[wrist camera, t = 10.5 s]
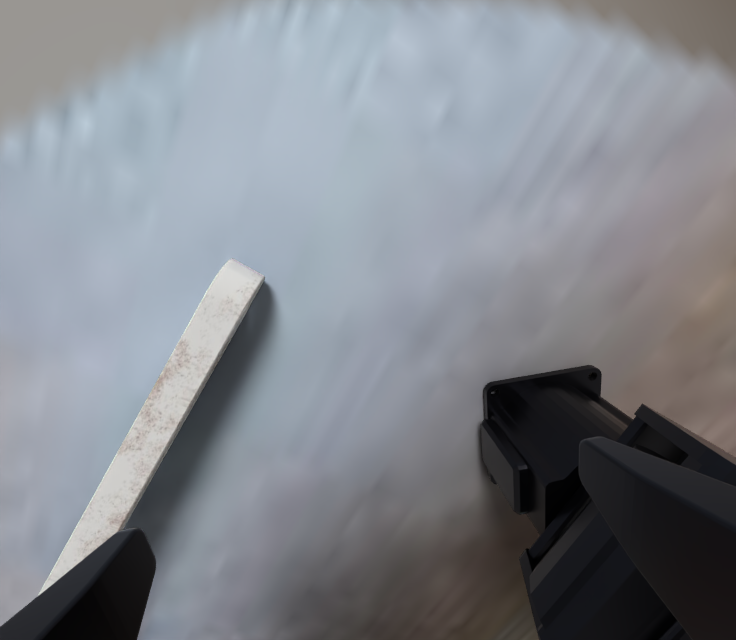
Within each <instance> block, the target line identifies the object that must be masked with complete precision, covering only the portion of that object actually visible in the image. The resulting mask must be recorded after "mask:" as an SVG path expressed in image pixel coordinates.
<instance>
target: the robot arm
mask: <svg viewBox="0 0 736 640" xmlns="http://www.w3.org/2000/svg"><path fill="white" fill-rule="evenodd" d="M590 373H592V375H591V376H590V377H588V376H589V374H590ZM494 389H497V391H496V393H494V394H491V392H492V391H493V390H494ZM600 394H601V371H600V370H599V369H598V368H596V367H594V366H592V365H587V366H581V367H575V368H569V369H564V370H558V371H552V372H546V373H540V374H535V375H529V376H523V377H517V378H511V379H506V380H500V381H494V382H490V383H488V384H487V385H486V386H485V388H484V408H485V420H483V422H482V423H481V435H482V453H483V461H484V463H485V464H486V466H487V468H488V476H489V478H490V480H491V481H492V482H493V483H494V484H498V486H499V488H500V489H501V491H502V493H503V494H504V496H505V498H506V499H507V501H508V503H509V504H510V506H511V507H512V509H513V511H515V512H516V513H517V514H519V515H521V514H527V515H528V517H529V519H530V520H531V522H532V523H533V525H534V526H535V528H536V529H537V531H538V533H539V534H540V537H539V538H538V539H537V540H536V542H535V543H534V544H533V545H532V547H531V548H530V549H526V550H525V551H524V552H523V554H522V555H521V556H520V557H519V560H520V564H521V568H522V572H523V576H524V580H525V584H526V588H527V592H528V596H529V600H530V604H531V608H532V613H533V617H534V621H535V625H536V629H537V633H538V637H539V640H736V458H735V457H734V456H732V455H730V454H729V453H727V452H726V451H724V450H722V449H721V448H719V447H717V446H716V445H714V444H712V443H710V442H709V441H707V440H705V439H703V438H702V437H700V436H698V435H696V434H695V433H693V432H691V431H689V430H688V429H686V428H684V427H682V426H681V425H679V424H677V423H675V422H674V421H672V420H670V419H668V418H667V417H665V416H663V415H661V414H660V413H658V412H656V411H654V410H653V409H651V408H649V407H647V406H646V405H644V404H642V405H641V406H640V407H639V409H638V410H637V411H636V412H635V415H636V417H635V418H634V419H632V418H630V417H629V416H627V415H626V414H624V413H623V412H622V411H620V410H619V409H617V408H616V407H614V406H613V405H612V404H610V403H609V402H607V401H606V400H604V399H603V398H602V397H600ZM155 570H156V560H155V556H154V554H153V551H152V549H151V546H150V544H149V542H148V539H147V537H146V535H145V532H144V531H143V530H142V529H141V528H131V529H126V530H121V531H118V532H116V533H115V534H114V535H112V536H111V537H110V538H109V539H107V540H106V541H105V542H104V543H103V544H101V545H100V546H99V547H98V548H96V549H95V550H94V551H93V552H92V553H90V554H89V555H88V556H87V557H85V558H84V559H83V560H82V561H81V562H79V563H78V564H77V565H76V566H74V567H73V568H72V569H71V570H69V571H68V572H67V573H66V574H65V575H63V576H62V577H61V578H60V579H58V580H57V581H56V582H55V583H54V584H52V585H51V586H50V587H49V588H47V589H46V590H45V591H44V592H43V593H41V594H40V595H39V596H38V597H36V598H35V599H34V600H33V601H32V602H30V603H29V604H28V605H27V606H25V607H24V608H23V609H22V610H20V611H19V612H18V613H17V614H16V615H14V616H13V617H12V618H11V619H9V620H8V621H7V622H6V623H5V624H3V625H2V626H1V627H0V640H137V637H138V634H139V630H140V626H141V622H142V619H143V615H144V611H145V608H146V604H147V600H148V597H149V593H150V589H151V586H152V582H153V578H154V574H155Z"/></svg>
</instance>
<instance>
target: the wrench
mask: <svg viewBox="0 0 736 640" xmlns="http://www.w3.org/2000/svg"><path fill="white" fill-rule="evenodd" d="M264 279H265V277H264V276H263V275H262V274H260V273H258V272H256V271H254V270H253V269H251V268H249V267H247V266H246V265H244V264H242V263H240V262H238V261H237V260H235V259H233V258H232V259H230V260H228V261H227V262H226V264H225V265H224V266H223V267H222V268H221V270H220V271H219V272H218V274H217V275H216V277H215V278H214V280H213V281H212V283H211V285H210V286H209V288H208V290H207V292H206V293H205V295H204V297H203V299H202V301H201V302H200V304H199V306H198V308H197V310H196V311H195V313H194V315H193V317H192V319H191V320H190V322H189V324H188V326H187V328H186V329H185V331H184V333H183V335H182V337H181V338H180V340H179V342H178V344H177V346H176V347H175V349H174V351H173V353H172V355H171V356H170V358H169V360H168V362H167V364H166V366H165V367H164V369H163V371H162V373H161V375H160V376H159V378H158V380H157V382H156V384H155V385H154V387H153V389H152V391H151V393H150V394H149V396H148V398H147V400H146V402H145V403H144V405H143V407H142V409H141V411H140V412H139V414H138V416H137V418H136V420H135V421H134V423H133V425H132V427H131V429H130V430H129V432H128V434H127V436H126V438H125V440H124V441H123V443H122V445H121V447H120V449H119V450H118V452H117V454H116V456H115V458H114V459H113V461H112V463H111V465H110V467H109V468H108V470H107V472H106V474H105V476H104V477H103V479H102V481H101V483H100V485H99V486H98V488H97V490H96V492H95V494H94V495H93V497H92V499H91V501H90V503H89V504H88V506H87V508H86V510H85V512H84V514H83V515H82V517H81V519H80V521H79V523H78V524H77V526H76V528H75V530H74V532H73V533H72V535H71V537H70V539H69V541H68V542H67V544H66V546H65V548H64V550H63V551H62V553H61V555H60V557H59V559H58V560H57V562H56V564H55V566H54V568H53V569H52V571H51V573H50V575H49V577H48V578H47V580H46V582H45V584H44V586H43V588H42V589H41V591H40V593H39V595H40V594H41V593H43V592H44V591H45V590H46V589H47V588H49V587H50V586H51V585H52V584H54V583H55V582H56V581H57V580H58V579H60V578H61V577H62V576H63V575H65V574H66V573H67V572H68V571H69V570H71V569H72V568H73V567H74V566H76V565H77V564H78V563H79V562H81V561H82V560H83V559H84V558H85V557H87V556H88V555H89V554H90V553H92V552H93V551H94V550H95V549H96V548H98V547H99V546H100V545H101V544H103V543H104V542H105V541H106V540H107V539H109V538H110V537H111V536H112V535H114V534H115V533H116V532H118V531H121V530H123V529H124V527H125V525H126V523H127V522H128V520H129V518H130V516H131V515H132V513H133V511H134V509H135V508H136V506H137V504H138V502H139V501H140V499H141V497H142V495H143V494H144V492H145V490H146V488H147V487H148V485H149V483H150V481H151V480H152V478H153V476H154V474H155V473H156V471H157V469H158V467H159V466H160V464H161V462H162V460H163V458H164V457H165V455H166V453H167V451H168V450H169V448H170V446H171V444H172V443H173V441H174V439H175V437H176V436H177V434H178V432H179V430H180V429H181V427H182V425H183V423H184V422H185V420H186V418H187V416H188V415H189V413H190V411H191V409H192V407H193V406H194V404H195V402H196V400H197V399H198V397H199V395H200V393H201V392H202V390H203V388H204V386H205V385H206V383H207V381H208V379H209V378H210V376H211V374H212V372H213V371H214V369H215V367H216V365H217V364H218V362H219V360H220V358H221V357H222V355H223V353H224V351H225V350H226V348H227V346H228V344H229V343H230V341H231V339H232V337H233V336H234V334H235V332H236V330H237V328H238V327H239V325H240V323H241V321H242V320H243V318H244V316H245V314H246V313H247V311H248V309H249V307H250V305H251V303H252V301H253V299H254V298H255V296H256V295H257V293H258V291H259V289H260V288H261V286H262V284H263V282H264ZM39 595H38V596H39Z"/></svg>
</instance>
